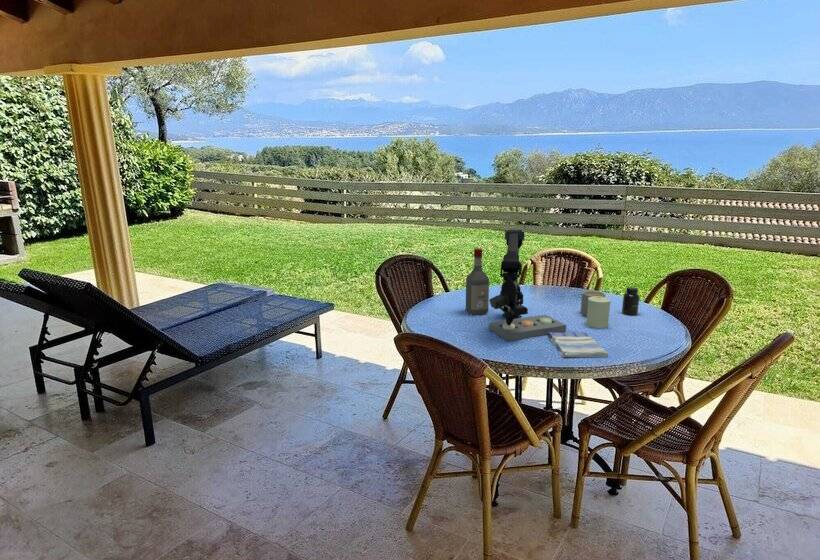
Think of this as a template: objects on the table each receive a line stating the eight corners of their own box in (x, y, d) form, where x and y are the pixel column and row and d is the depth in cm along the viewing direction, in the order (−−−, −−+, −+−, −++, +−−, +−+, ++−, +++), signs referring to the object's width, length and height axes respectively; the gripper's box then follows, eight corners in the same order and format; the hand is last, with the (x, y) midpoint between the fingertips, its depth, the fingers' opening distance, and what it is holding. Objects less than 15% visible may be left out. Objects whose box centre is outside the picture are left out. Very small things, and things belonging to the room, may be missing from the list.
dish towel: (562, 359, 193) (563, 352, 192) (545, 337, 216) (546, 330, 215) (609, 359, 193) (610, 351, 193) (588, 336, 216) (588, 329, 215)
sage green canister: (607, 322, 231) (609, 295, 228) (609, 329, 223) (611, 301, 220) (585, 320, 234) (587, 294, 231) (586, 327, 225) (588, 300, 222)
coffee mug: (606, 317, 237) (607, 296, 234) (583, 317, 237) (585, 296, 235) (598, 308, 250) (599, 288, 247) (576, 308, 250) (578, 288, 248)
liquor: (490, 314, 244) (492, 250, 236) (472, 316, 241) (474, 252, 233) (480, 308, 252) (482, 246, 245) (463, 310, 249) (464, 248, 241)
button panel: (488, 329, 224) (489, 322, 223) (545, 321, 233) (545, 314, 233) (507, 341, 210) (507, 334, 210) (565, 331, 220) (566, 325, 219)
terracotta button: (518, 327, 223) (519, 321, 222) (528, 326, 225) (529, 319, 224) (525, 331, 219) (525, 324, 218) (535, 330, 220) (535, 323, 219)
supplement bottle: (635, 316, 238) (637, 291, 235) (619, 313, 242) (622, 288, 239) (639, 312, 243) (642, 287, 240) (624, 310, 247) (626, 285, 244)
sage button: (536, 325, 226) (537, 318, 225) (546, 323, 228) (547, 317, 227) (543, 328, 222) (544, 322, 221) (553, 327, 223) (554, 320, 222)
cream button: (500, 330, 220) (500, 323, 219) (510, 329, 222) (510, 322, 221) (506, 334, 216) (506, 327, 215) (516, 333, 217) (517, 326, 216)
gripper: (481, 285, 220) (480, 320, 224) (504, 296, 203) (503, 335, 207) (504, 282, 224) (503, 317, 227) (529, 293, 207) (527, 331, 211)
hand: (508, 325), depth 218 cm, fingers closed, pressing on cream button
